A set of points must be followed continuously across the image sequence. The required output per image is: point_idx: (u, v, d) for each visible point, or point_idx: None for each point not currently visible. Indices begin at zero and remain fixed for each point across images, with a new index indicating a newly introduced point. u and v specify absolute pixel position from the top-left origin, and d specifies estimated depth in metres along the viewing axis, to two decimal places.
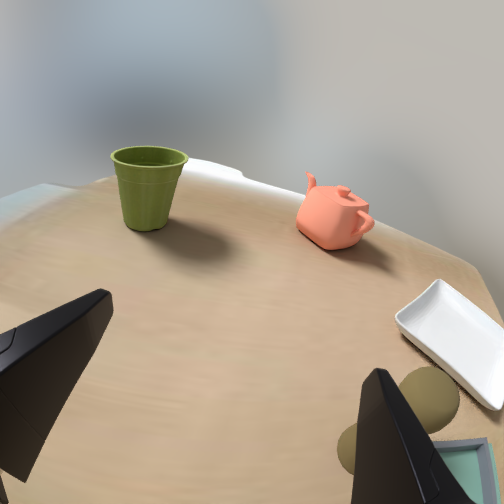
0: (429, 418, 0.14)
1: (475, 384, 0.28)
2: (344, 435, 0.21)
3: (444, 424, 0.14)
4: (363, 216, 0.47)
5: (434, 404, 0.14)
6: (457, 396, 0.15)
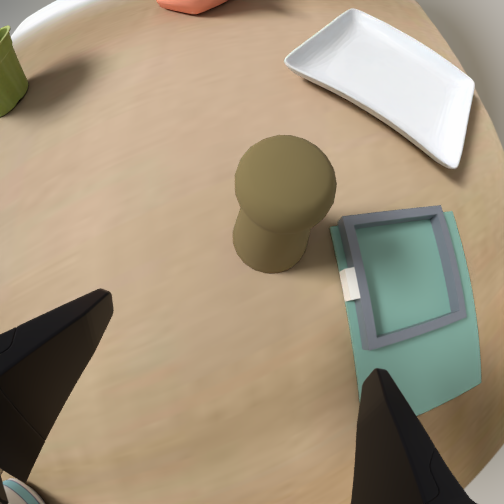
0: (275, 219, 0.13)
1: (419, 130, 0.27)
2: None
3: (310, 222, 0.14)
4: None
5: (275, 199, 0.13)
6: (325, 178, 0.13)
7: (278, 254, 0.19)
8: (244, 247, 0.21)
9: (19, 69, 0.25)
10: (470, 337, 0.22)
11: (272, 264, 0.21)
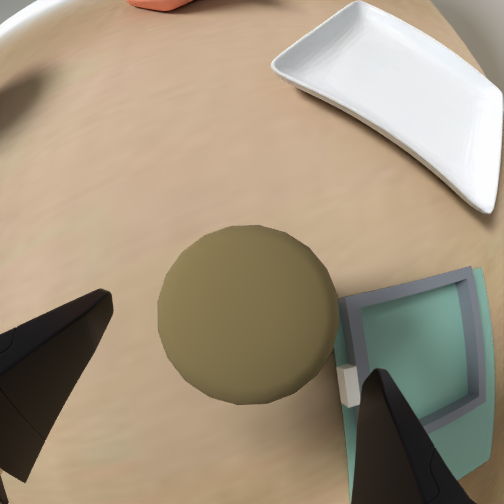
0: (222, 399, 0.07)
1: (445, 158, 0.20)
2: None
3: None
4: None
5: (219, 379, 0.07)
6: (317, 328, 0.07)
7: None
8: None
9: None
10: (485, 416, 0.15)
11: None
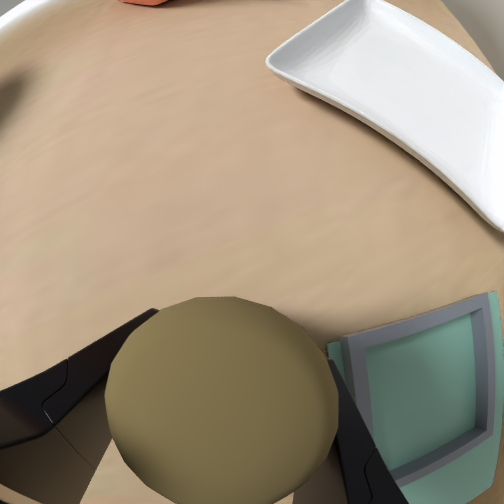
0: None
1: (461, 168, 0.18)
2: None
3: None
4: None
5: (181, 496, 0.04)
6: (307, 448, 0.04)
7: None
8: None
9: None
10: (491, 446, 0.13)
11: None
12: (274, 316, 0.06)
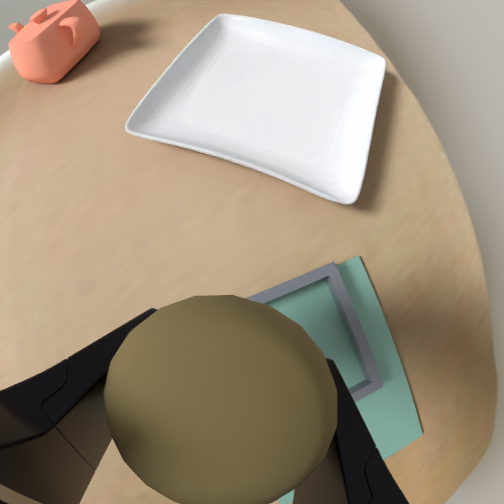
0: None
1: (305, 157, 0.25)
2: None
3: None
4: (65, 24, 0.21)
5: (180, 495, 0.04)
6: (306, 447, 0.04)
7: None
8: None
9: None
10: (398, 397, 0.20)
11: None
12: (273, 315, 0.06)
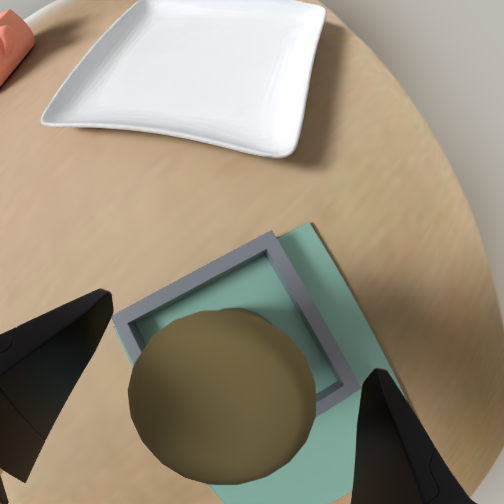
0: None
1: (232, 115, 0.20)
2: None
3: None
4: None
5: (190, 470, 0.06)
6: (289, 431, 0.06)
7: None
8: None
9: None
10: None
11: None
12: (264, 327, 0.07)
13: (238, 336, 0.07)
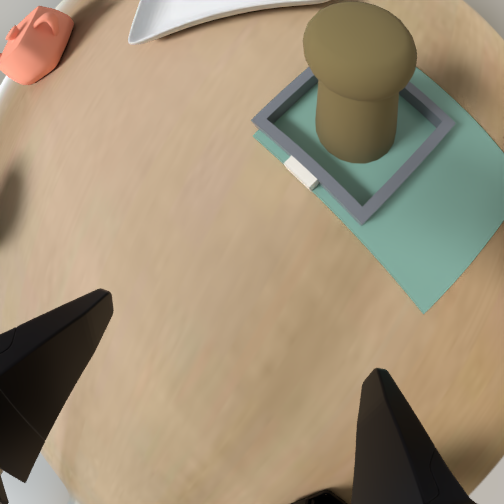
0: (368, 80, 0.09)
1: None
2: (316, 123, 0.19)
3: (404, 77, 0.09)
4: (39, 22, 0.22)
5: (361, 58, 0.09)
6: (399, 29, 0.08)
7: (375, 134, 0.15)
8: (336, 139, 0.17)
9: None
10: (480, 141, 0.16)
11: (370, 149, 0.17)
12: None
13: (352, 2, 0.09)
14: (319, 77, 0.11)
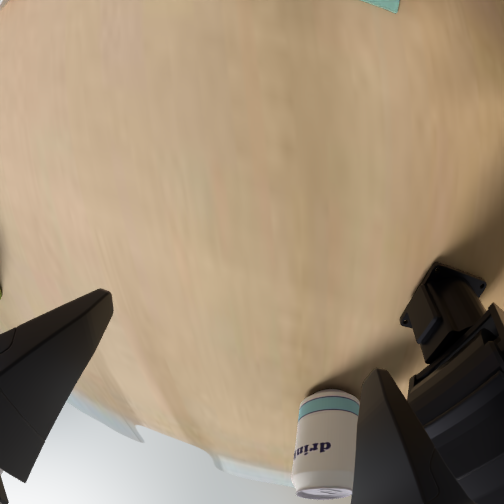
0: None
1: None
2: None
3: None
4: None
5: None
6: None
7: None
8: None
9: None
10: None
11: None
12: None
13: None
14: None
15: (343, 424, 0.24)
